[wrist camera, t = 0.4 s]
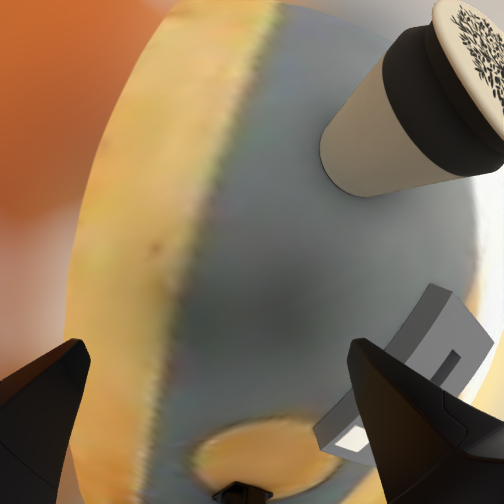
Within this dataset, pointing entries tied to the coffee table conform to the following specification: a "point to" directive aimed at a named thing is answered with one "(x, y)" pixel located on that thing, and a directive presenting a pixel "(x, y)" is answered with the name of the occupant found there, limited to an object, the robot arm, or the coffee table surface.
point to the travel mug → (423, 109)
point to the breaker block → (415, 366)
